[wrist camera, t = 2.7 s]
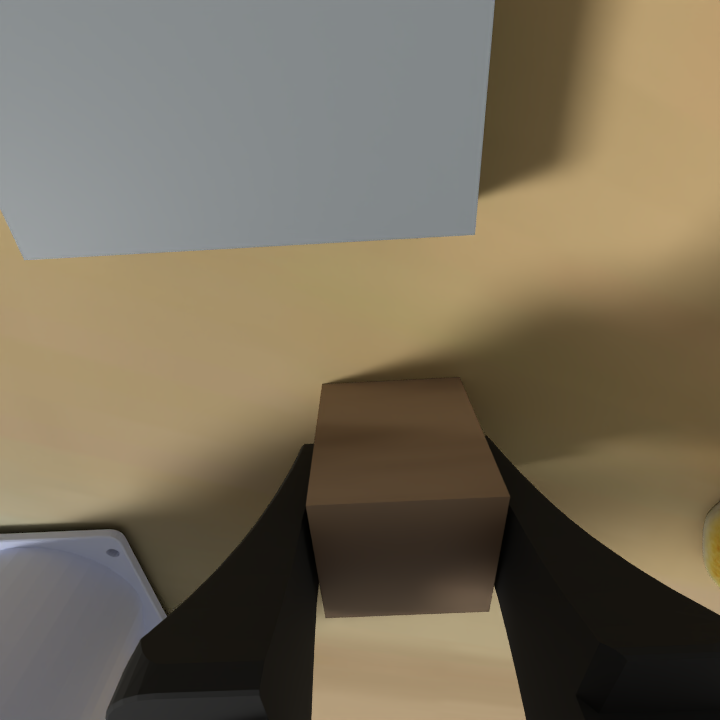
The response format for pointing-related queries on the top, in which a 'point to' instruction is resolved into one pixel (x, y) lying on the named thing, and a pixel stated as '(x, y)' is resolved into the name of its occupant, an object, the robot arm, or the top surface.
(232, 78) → the block
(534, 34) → the top surface
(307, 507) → the walnut block
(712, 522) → the bread roll
